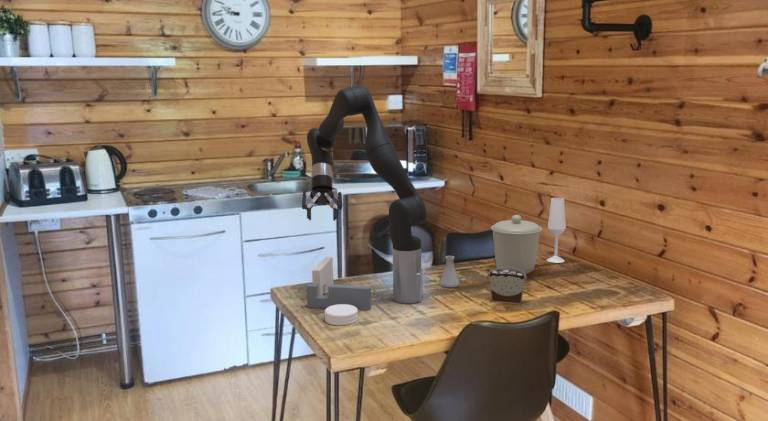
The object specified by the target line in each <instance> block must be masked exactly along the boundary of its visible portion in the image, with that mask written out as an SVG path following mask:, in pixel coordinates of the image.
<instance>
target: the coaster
mask: <svg viewBox="0 0 768 421" xmlns="http://www.w3.org/2000/svg"><path fill="white" fill-rule="evenodd" d="M358 312H359V310H358V309H357V308H356V307H355V306H352V305H347V304H338V305H332V306H329V307H328V308H324V321H325V322H326V323H327V324H329V325H332V326H348V325H352V324H355V323H357V321H358V320H359V313H358Z"/></svg>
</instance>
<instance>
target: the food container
mask: <svg viewBox="0 0 768 421" xmlns="http://www.w3.org/2000/svg"><path fill="white" fill-rule="evenodd" d="M487 278H489V286H490V296H491V302H492V303H503V304H513V305H514V304H515V305H522V302H523V293H524V285H525V281H527V274H525V272H524V271H522V270H520V269H516V268H497V267H496V268H491V269H489V271H488V273H487Z"/></svg>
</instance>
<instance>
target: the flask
mask: <svg viewBox="0 0 768 421" xmlns="http://www.w3.org/2000/svg"><path fill="white" fill-rule="evenodd" d="M444 259H445V267H444V270H443V272H442V276H441V279H440V281H439V287H444V288H457V287H459V286H460V285H461V284H460V279H459V277H458V274H457V272H456V268H455V263H454V261H455V256H454V255H446V256H445V258H444Z"/></svg>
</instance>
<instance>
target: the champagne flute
mask: <svg viewBox="0 0 768 421" xmlns="http://www.w3.org/2000/svg"><path fill="white" fill-rule="evenodd" d="M550 199H551V200H550V205H549V207H550V208H549V214H548V222H547V229H548V232H550V233H551V234H552V235H553V236H554V251H553V252H554V253H553V254H554V255H553V256H550V257H549V258H546V261H547V262H549V263H557V264H559V263H564V262H565V259H563V257H560V256H559V255H558V252H559V251H558V250H559V248H558V247H559V244H558V243H559V236H560V235H562V234H563V233H564V232H565V231H566V229H567V223H566V221H567V220H566V208H565V206H566V205H565V198H563V197H552V198H550Z"/></svg>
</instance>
